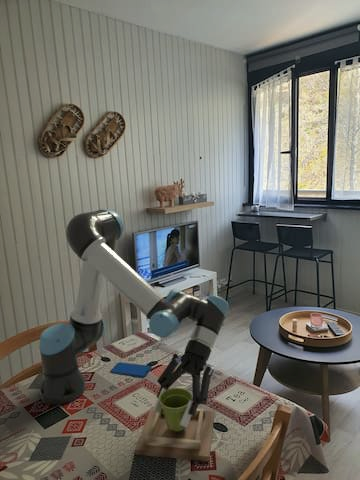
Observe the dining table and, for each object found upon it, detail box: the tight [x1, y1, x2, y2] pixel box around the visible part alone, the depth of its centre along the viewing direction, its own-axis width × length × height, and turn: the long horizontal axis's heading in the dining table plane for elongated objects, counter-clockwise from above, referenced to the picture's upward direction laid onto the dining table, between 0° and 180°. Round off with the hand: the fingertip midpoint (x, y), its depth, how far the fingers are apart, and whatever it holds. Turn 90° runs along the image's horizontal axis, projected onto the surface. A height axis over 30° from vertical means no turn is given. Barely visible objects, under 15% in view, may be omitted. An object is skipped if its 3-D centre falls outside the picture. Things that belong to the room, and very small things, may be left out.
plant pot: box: [159, 387, 193, 431], centre depth 102 cm, size 9×9×9 cm
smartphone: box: [109, 361, 153, 378], centre depth 138 cm, size 7×1×15 cm
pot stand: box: [134, 406, 215, 462], centre depth 103 cm, size 20×18×4 cm
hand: (169, 418), depth 100 cm, fingers closed on plant pot, 9 cm apart
